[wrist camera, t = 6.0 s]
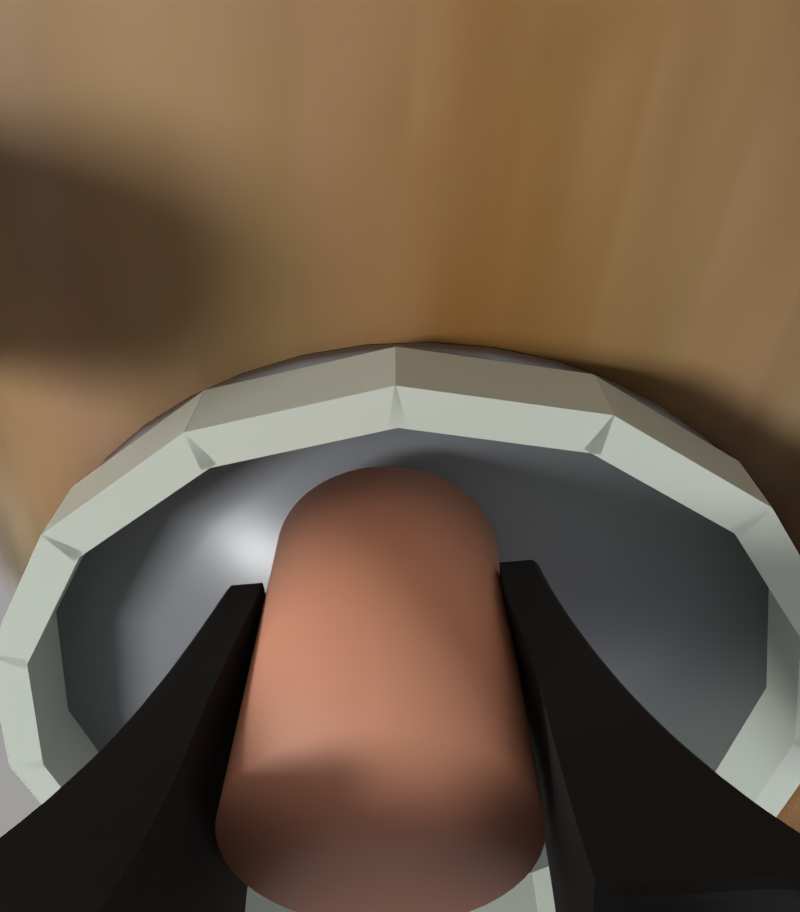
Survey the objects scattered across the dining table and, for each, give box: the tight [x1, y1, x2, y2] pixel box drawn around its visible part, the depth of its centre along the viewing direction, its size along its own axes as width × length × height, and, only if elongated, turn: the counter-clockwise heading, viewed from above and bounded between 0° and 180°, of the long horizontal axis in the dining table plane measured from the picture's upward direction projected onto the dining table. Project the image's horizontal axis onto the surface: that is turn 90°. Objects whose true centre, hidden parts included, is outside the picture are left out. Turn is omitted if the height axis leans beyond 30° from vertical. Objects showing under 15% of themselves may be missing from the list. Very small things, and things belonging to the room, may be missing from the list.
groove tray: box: [0, 342, 800, 912], centre depth 19 cm, size 19×19×2 cm
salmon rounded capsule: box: [215, 466, 546, 912], centre depth 13 cm, size 4×4×6 cm
